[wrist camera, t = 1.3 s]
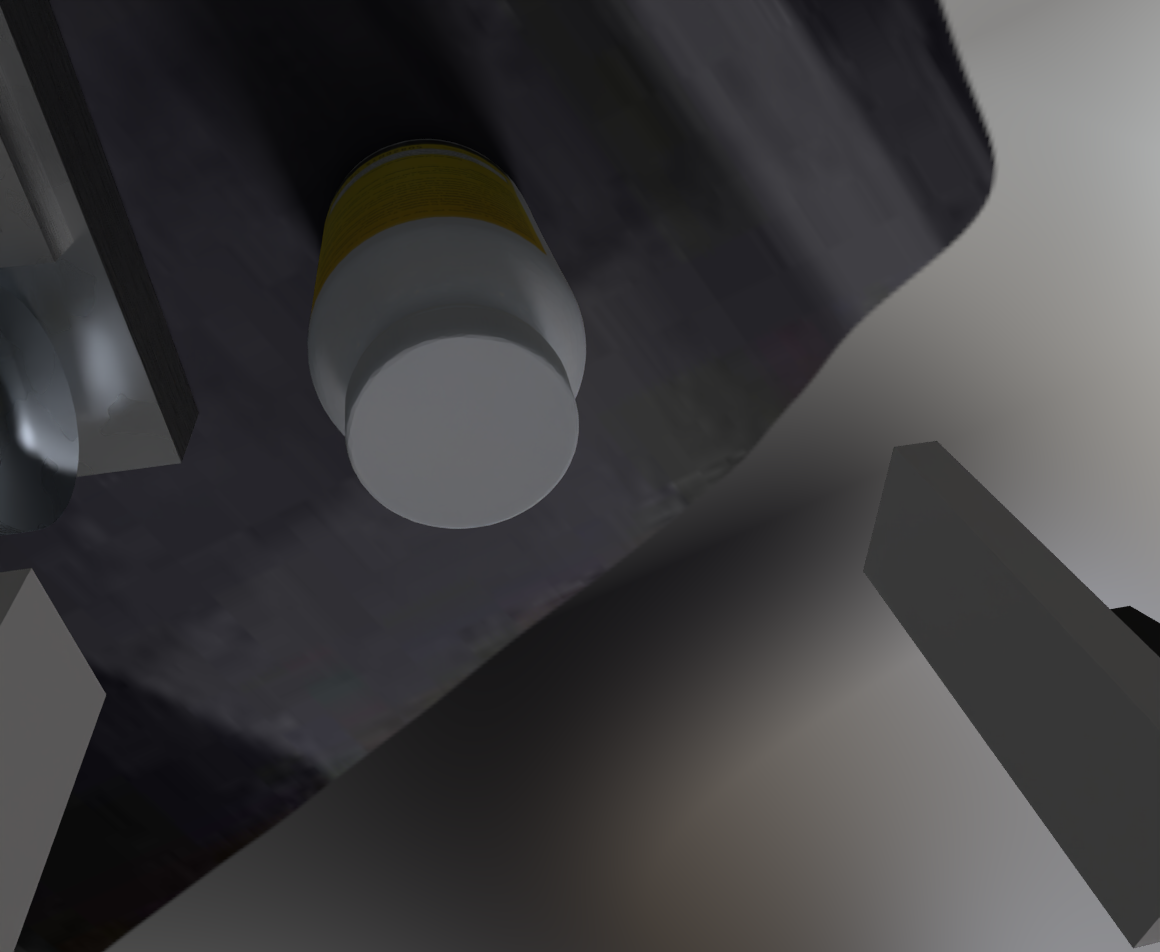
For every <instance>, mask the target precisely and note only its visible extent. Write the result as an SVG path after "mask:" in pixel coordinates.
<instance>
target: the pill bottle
mask: <svg viewBox="0 0 1160 952" xmlns="http://www.w3.org/2000/svg"><path fill="white" fill-rule="evenodd" d="M585 359H586V338H585V330H584V324H583V320H582V316H581V313H580V309H579V306H578V304H577V301H576V299H575V297H574V295H573V293H572V291H571V289H570V287H569V285H568V283H567V281H566V279H565V277H564V276H563V274H562V272H561V270H560V268H559V266H558V265H557V263H556V261H555V259H554V257H553V255H552V253H551V251H550V249H549V248H548V246H547V244H546V242H545V240H544V238H543V236H542V234H541V232H540V230H539V229H538V226H537V224H536V222H535V220H534V218H533V216H532V213H531V211H530V209H529V207H528V205H527V204H526V202H525V200H524V198H523V196H522V194H521V193H520V191H519V190H518V188H517V187H516V185H515V184H514V182H513V181H512V180H511V179H510V178H509V176H508V175H507V174H506V173H505V172H504V171H503V170H502V169H501V168H500V167H499V166H497V165H496V164H495V163H494V162H492V161H491V160H490V159H488V158H487V157H485V156H483V155H482V154H480V153H478V152H477V151H475V150H473V149H470V148H468V147H465V146H462V145H460V144H457V143H453V142H449V141H444V140H436V139H415V140H408V141H403V142H399V143H396V144H393V145H390V146H387V147H385V148H382V149H380V150H378V151H376V152H374V153H373V154H371V155H369V156H368V157H366V158H365V159H364V160H362V161H361V162H360V163H359V164H358V165H356V166H355V167H354V168H353V169H352V170H351V171H350V173H349V174H348V175H347V176H346V177H345V179H344V180H343V181H342V183H341V184H340V186H339V187H338V189H337V191H336V193H335V195H334V197H333V199H332V201H331V203H330V206H329V209H328V212H327V216H326V220H325V226H324V232H323V238H322V245H321V251H320V256H319V263H318V269H317V277H316V283H315V290H314V297H313V304H312V311H311V318H310V324H309V330H308V361H309V368H310V373H311V377H312V381H313V384H314V388H315V390H316V393H317V395H318V398H319V400H320V402H321V404H322V406H323V408H324V409H325V411H326V413H327V414H328V416H329V418H330V419H331V420H332V422H333V423H334V424H335V425H336V427H337V428H338V429H339V430H340V431H341V433H342V434H343V435H344V436H345V441H346V447H347V452H348V456H349V459H350V462H351V464H352V467H353V470H354V471H355V473H356V475H357V476H358V478H359V480H360V482H361V483H362V485H363V486H364V487H365V488H366V489H367V490H368V492H369V493H370V494H371V495H372V496H373V497H374V498H375V499H376V500H377V501H379V502H380V503H381V504H382V505H384V506H385V507H386V508H388V509H389V510H391V511H393V512H395V513H396V514H398V515H400V516H402V517H405V518H407V519H409V520H412V521H414V522H417V523H421V524H425V525H428V526H434V527H441V528H451V529H462V528H474V527H482V526H487V525H491V524H495V523H499V522H501V521H504V520H507V519H510V518H512V517H514V516H516V515H518V514H520V513H522V512H524V511H526V510H527V509H529V508H531V507H532V506H534V505H535V504H536V503H538V502H539V501H540V500H541V499H543V498H544V497H545V496H546V495H547V494H548V493H550V492H551V490H552V489H553V488H554V487H555V486H556V485H557V483H558V482H559V481H560V480H561V478H562V477H563V475H564V474H565V472H566V470H567V469H568V467H569V465H570V463H571V460H572V458H573V455H574V453H575V449H576V446H577V440H578V432H579V416H578V411H577V405H576V401H575V398H576V396H577V394H578V391H579V388H580V385H581V381H582V378H583V373H584V368H585Z"/></svg>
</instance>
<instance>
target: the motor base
mask: <svg viewBox="0 0 1160 952" xmlns="http://www.w3.org/2000/svg"><path fill="white" fill-rule="evenodd" d="M198 415H199V412H198V409H197V406H196V404H195V401H194V398H193V395H192V393H191V390H190V387H189V384H188V382H187V379H186V376H185V373H184V371H183V368H182V365H181V362H180V360H179V357H178V354H177V351H176V349H175V346H174V343H173V340H172V338H171V335H170V332H169V329H168V327H167V324H166V321H165V318H164V316H163V313H162V310H161V307H160V305H159V302H158V299H157V296H156V294H155V291H154V288H153V285H152V283H151V280H150V277H149V274H148V272H147V269H146V266H145V263H144V261H143V258H142V255H141V252H140V250H139V247H138V244H137V241H136V239H135V236H134V233H133V230H132V228H131V225H130V222H129V220H128V217H127V214H126V211H125V209H124V206H123V203H122V200H121V198H120V195H119V192H118V189H117V187H116V184H115V181H114V178H113V176H112V173H111V170H110V167H109V165H108V162H107V159H106V156H105V154H104V151H103V148H102V145H101V143H100V140H99V137H98V134H97V132H96V129H95V126H94V123H93V121H92V118H91V115H90V112H89V110H88V107H87V104H86V101H85V99H84V96H83V93H82V90H81V88H80V85H79V82H78V79H77V77H76V74H75V71H74V68H73V66H72V63H71V60H70V57H69V55H68V52H67V49H66V46H65V44H64V41H63V38H62V35H61V33H60V30H59V27H58V24H57V22H56V19H55V16H54V13H53V11H52V8H51V5H50V2H49V0H0V535H7V534H14V533H21V532H28V531H35V530H40V529H43V528H46V527H48V526H50V525H51V524H52V523H54V522H55V521H56V520H57V519H58V518H59V517H60V516H61V515H62V513H63V512H64V510H65V509H66V507H67V505H68V503H69V501H70V498H71V496H72V493H73V489H74V486H75V481H76V477H78V476H86V475H94V474H101V473H109V472H116V471H124V470H131V469H139V468H147V467H154V466H162V465H169V464H177V463H182V460H183V457H184V454H185V451H186V448H187V446H188V443H189V440H190V437H191V434H192V432H193V429H194V426H195V423H196V420H197V418H198Z"/></svg>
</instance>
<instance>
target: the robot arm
mask: <svg viewBox="0 0 1160 952" xmlns="http://www.w3.org/2000/svg"><path fill="white" fill-rule="evenodd" d="M863 571H864V573H865V574H866V576H867V577H868V578H869V580H870V581H871V583H872V584H873V585H874V587H875V588H876V590H877V591H878V592H879V594H880V595H881V597H882V598H883V599H884V601H885V602H886V604H887V605H888V606H889V608H890V609H891V611H892V612H893V613H894V615H895V616H896V618H897V619H898V620H899V622H900V623H901V625H902V626H903V627H904V629H905V630H906V632H907V633H908V634H909V636H910V637H911V638H912V640H913V641H914V643H915V644H916V645H917V647H918V648H919V650H920V651H921V652H922V654H923V655H924V657H925V658H926V659H927V661H928V662H929V664H930V665H931V666H932V668H933V669H934V671H935V672H936V673H937V675H938V676H939V678H940V679H941V680H942V682H943V683H944V685H945V686H946V687H947V689H948V690H949V692H950V693H951V694H952V696H953V697H954V699H955V700H956V701H957V703H958V704H959V705H960V707H961V708H962V710H963V711H964V712H965V714H966V715H967V717H968V718H969V719H970V721H971V722H972V724H973V725H974V726H975V728H976V729H977V731H978V732H979V733H980V735H981V736H982V738H983V739H984V740H985V742H986V743H987V745H988V746H989V747H990V749H991V750H992V751H993V753H994V754H995V756H996V757H997V759H998V760H999V761H1000V763H1001V764H1002V766H1003V767H1004V768H1005V770H1006V771H1007V773H1008V774H1009V775H1010V777H1011V778H1012V780H1013V781H1014V782H1015V784H1016V785H1017V787H1018V788H1019V789H1020V791H1021V792H1022V794H1023V795H1024V796H1025V798H1026V799H1027V800H1028V802H1029V803H1030V805H1031V806H1032V807H1033V809H1034V810H1035V812H1036V813H1037V814H1038V816H1039V817H1040V819H1041V820H1042V821H1043V823H1044V824H1045V826H1046V827H1047V828H1048V829H1049V831H1050V833H1051V834H1052V835H1053V837H1054V838H1055V840H1056V841H1057V842H1058V844H1059V845H1060V847H1061V848H1062V849H1063V851H1064V852H1065V854H1066V855H1067V856H1068V857H1069V859H1070V861H1071V862H1072V863H1073V865H1074V866H1075V868H1076V869H1077V870H1078V871H1079V873H1080V874H1081V876H1082V877H1083V879H1084V880H1085V881H1086V883H1087V884H1088V886H1089V887H1090V888H1091V890H1092V891H1093V893H1094V894H1095V895H1096V897H1097V898H1098V900H1099V901H1100V902H1101V904H1102V905H1103V907H1104V908H1105V909H1106V911H1107V912H1108V914H1109V915H1110V916H1111V918H1112V919H1113V921H1114V922H1115V923H1116V925H1117V926H1118V927H1119V929H1120V930H1121V932H1122V933H1123V935H1124V936H1125V937H1126V938H1127V940H1128V942H1129V943H1130V944H1131V945H1132V947H1133V948H1137V947H1141V946H1145V945H1149V944H1153V943H1156V942H1160V623H1158V622H1157V621H1155V620H1153V619H1152V618H1150V617H1148V616H1146V615H1145V614H1143V613H1141V612H1139V611H1138V610H1136V609H1134V608H1133V607H1131V606H1127V607H1121V608H1115V609H1109V608H1108V607H1107V606H1106V605H1105V604H1104V603H1103V602H1102V601H1101V600H1100V599H1099V598H1098V597H1097V596H1096V595H1095V594H1094V593H1093V592H1092V591H1091V590H1090V589H1089V588H1088V587H1086V586H1085V584H1083V583H1082V582H1081V581H1080V580H1079V579H1078V578H1077V577H1076V576H1075V575H1074V574H1073V573H1072V572H1071V571H1070V570H1069V569H1068V568H1067V567H1066V566H1065V565H1064V564H1063V563H1062V562H1061V561H1060V560H1059V559H1058V558H1057V557H1056V556H1055V555H1054V554H1053V553H1051V552H1050V550H1048V549H1047V548H1046V547H1045V546H1044V545H1043V544H1042V543H1041V542H1040V541H1039V540H1038V539H1037V538H1036V537H1035V536H1034V535H1033V534H1032V533H1031V532H1030V531H1029V530H1028V529H1027V528H1026V527H1025V526H1024V525H1023V524H1022V523H1021V522H1020V521H1019V520H1018V519H1017V518H1015V516H1013V515H1012V514H1011V513H1010V512H1009V511H1008V510H1007V509H1006V508H1005V507H1004V506H1003V505H1002V504H1001V503H1000V502H999V501H998V500H997V499H996V498H995V497H994V496H993V495H992V494H991V493H990V492H989V491H988V490H987V489H986V488H985V487H984V486H983V485H982V484H980V482H978V481H977V480H976V479H975V478H974V477H973V476H972V475H971V474H970V473H969V472H968V471H967V470H966V469H965V468H964V467H963V466H962V465H961V464H960V463H959V462H958V461H957V460H956V459H955V458H954V457H953V456H952V455H951V454H950V453H949V452H947V450H946V449H944V448H943V447H942V446H941V445H940V444H939V443H938V442H937V441H933V442H926V443H919V444H912V445H905V446H898V447H894V449H893V453H892V457H891V461H890V465H889V470H888V473H887V477H886V481H885V485H884V489H883V493H882V497H881V501H880V505H879V509H878V513H877V517H876V522H875V525H874V530H873V533H872V537H871V542H870V545H869V549H868V554H867V557H866V561H865V566H864V570H863ZM105 696H106V694H105V692H104V690H103V689H102V687H101V685H100V683H99V682H98V680H97V678H96V677H95V675H94V673H93V672H92V670H91V668H90V667H89V665H88V663H87V661H86V660H85V658H84V656H83V655H82V653H81V651H80V650H79V648H78V646H77V644H76V643H75V641H74V639H73V638H72V636H71V634H70V633H69V631H68V629H67V627H66V626H65V624H64V622H63V621H62V619H61V617H60V616H59V614H58V612H57V611H56V609H55V607H54V605H53V604H52V602H51V600H50V599H49V597H48V595H47V594H46V592H45V590H44V588H43V587H42V585H41V583H40V582H39V580H38V578H37V577H36V575H35V573H34V572H33V570H32V568H29V569H22V570H15V571H8V572H1V573H0V952H13V951H14V948H15V946H16V943H17V940H18V937H19V935H20V932H21V929H22V926H23V924H24V921H25V918H26V915H27V912H28V910H29V907H30V904H31V901H32V899H33V896H34V893H35V890H36V888H37V885H38V882H39V879H40V876H41V874H42V871H43V868H44V865H45V863H46V860H47V857H48V854H49V851H50V849H51V846H52V843H53V840H54V838H55V835H56V832H57V829H58V827H59V824H60V821H61V818H62V815H63V813H64V810H65V807H66V804H67V802H68V799H69V796H70V793H71V790H72V788H73V785H74V782H75V779H76V777H77V774H78V771H79V768H80V766H81V763H82V760H83V757H84V754H85V752H86V749H87V746H88V743H89V741H90V738H91V735H92V732H93V730H94V727H95V724H96V721H97V718H98V716H99V713H100V710H101V707H102V705H103V702H104V699H105Z"/></svg>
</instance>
